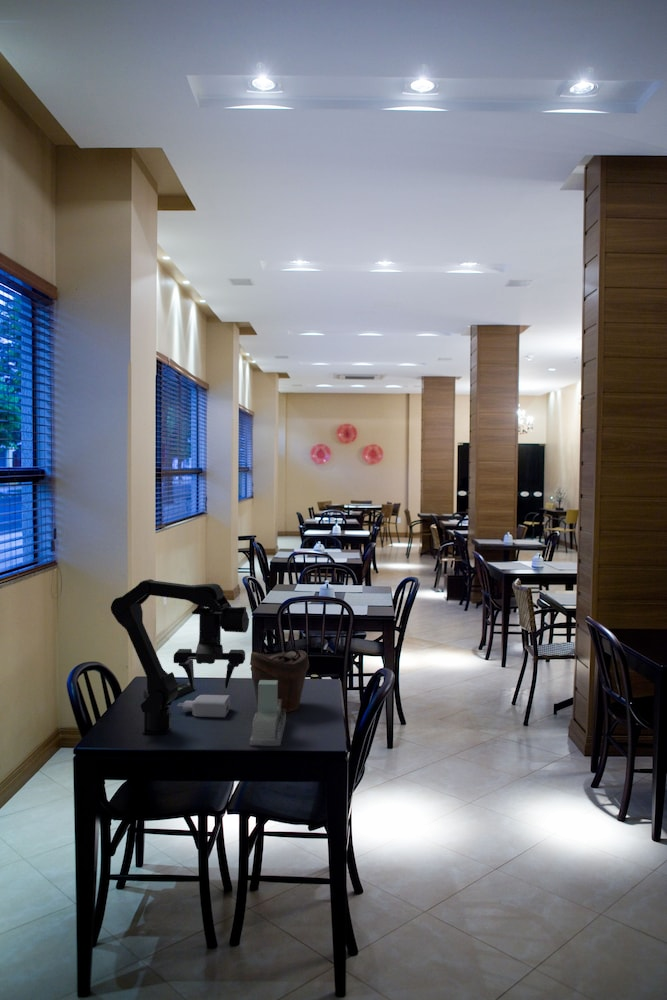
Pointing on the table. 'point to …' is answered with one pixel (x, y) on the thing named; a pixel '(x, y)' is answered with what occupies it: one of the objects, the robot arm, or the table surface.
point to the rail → (278, 739)
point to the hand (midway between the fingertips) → (209, 687)
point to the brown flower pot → (282, 674)
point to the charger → (208, 705)
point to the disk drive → (182, 689)
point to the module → (267, 696)
